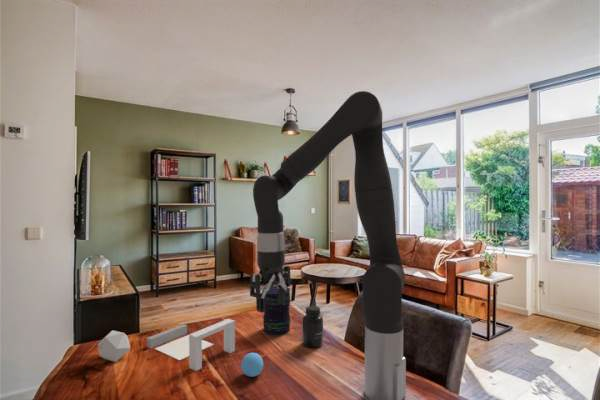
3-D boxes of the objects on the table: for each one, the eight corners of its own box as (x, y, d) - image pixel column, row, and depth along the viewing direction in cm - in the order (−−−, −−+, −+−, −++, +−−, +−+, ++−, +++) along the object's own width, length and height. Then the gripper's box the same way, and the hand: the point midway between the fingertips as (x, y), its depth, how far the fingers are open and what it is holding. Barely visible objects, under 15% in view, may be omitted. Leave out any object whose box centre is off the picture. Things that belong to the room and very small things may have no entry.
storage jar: (281, 322, 131) (281, 284, 131) (295, 331, 123) (295, 290, 123) (258, 328, 126) (258, 288, 125) (271, 338, 118) (271, 295, 117)
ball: (267, 373, 94) (267, 352, 94) (252, 383, 89) (252, 361, 89) (251, 367, 98) (251, 346, 98) (236, 376, 93) (236, 355, 93)
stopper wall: (187, 333, 121) (187, 325, 121) (150, 348, 110) (150, 339, 110) (183, 332, 122) (183, 324, 122) (147, 346, 111) (147, 337, 111)
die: (107, 354, 107) (88, 337, 102) (133, 336, 110) (117, 319, 105) (111, 373, 101) (92, 356, 96) (138, 354, 104) (122, 337, 99)
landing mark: (213, 344, 112) (213, 344, 112) (179, 360, 102) (179, 359, 102) (188, 335, 120) (188, 334, 120) (154, 349, 109) (154, 348, 109)
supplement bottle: (321, 349, 109) (321, 312, 109) (300, 347, 110) (300, 310, 110) (324, 340, 116) (324, 305, 116) (304, 338, 117) (304, 304, 117)
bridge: (234, 350, 108) (234, 320, 108) (196, 371, 96) (195, 337, 96) (228, 348, 110) (228, 318, 110) (189, 367, 97) (189, 334, 97)
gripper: (263, 253, 85) (264, 317, 85) (297, 246, 97) (298, 302, 97) (242, 251, 90) (243, 312, 90) (277, 244, 101) (277, 298, 101)
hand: (271, 307), depth 93 cm, fingers open, 8 cm apart
